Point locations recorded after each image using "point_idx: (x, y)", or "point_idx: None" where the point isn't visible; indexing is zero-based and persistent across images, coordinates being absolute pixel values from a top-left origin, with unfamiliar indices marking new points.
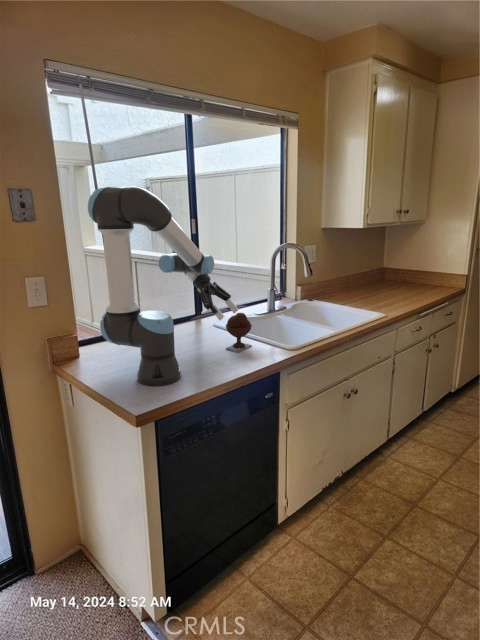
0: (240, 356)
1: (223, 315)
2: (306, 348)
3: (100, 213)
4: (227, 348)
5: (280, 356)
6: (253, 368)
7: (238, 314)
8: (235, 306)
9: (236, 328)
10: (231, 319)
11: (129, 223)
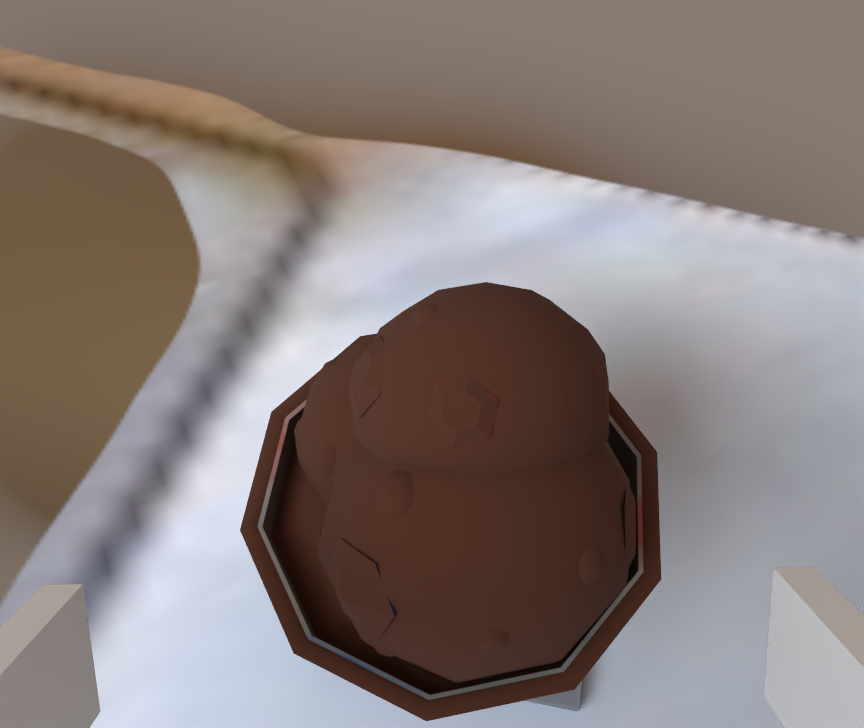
0: (676, 463)
1: (801, 584)
2: (238, 117)
3: None
4: (580, 683)
5: (492, 201)
6: (839, 269)
7: (555, 350)
8: (21, 643)
9: (643, 435)
10: (600, 513)
11: None
